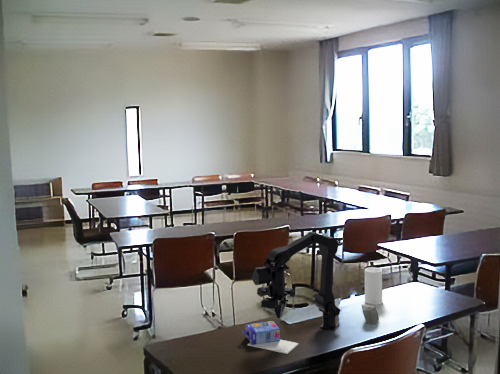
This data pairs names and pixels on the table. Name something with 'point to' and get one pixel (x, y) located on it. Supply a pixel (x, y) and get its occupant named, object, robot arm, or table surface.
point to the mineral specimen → (370, 314)
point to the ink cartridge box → (262, 332)
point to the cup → (373, 285)
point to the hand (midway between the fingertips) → (278, 317)
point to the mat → (277, 346)
